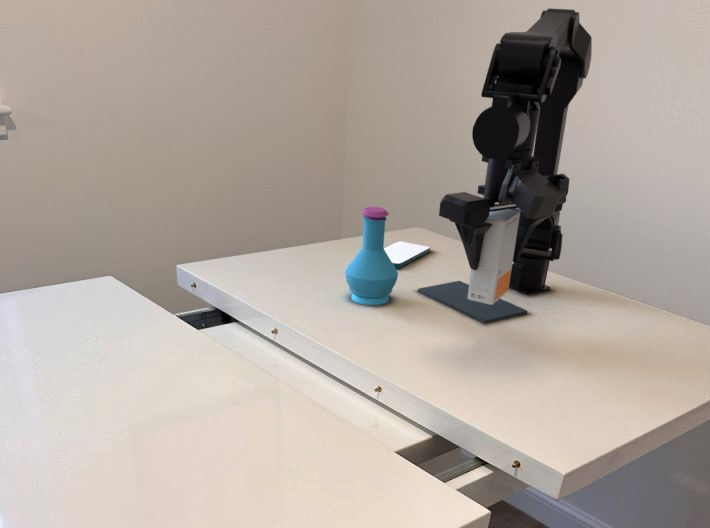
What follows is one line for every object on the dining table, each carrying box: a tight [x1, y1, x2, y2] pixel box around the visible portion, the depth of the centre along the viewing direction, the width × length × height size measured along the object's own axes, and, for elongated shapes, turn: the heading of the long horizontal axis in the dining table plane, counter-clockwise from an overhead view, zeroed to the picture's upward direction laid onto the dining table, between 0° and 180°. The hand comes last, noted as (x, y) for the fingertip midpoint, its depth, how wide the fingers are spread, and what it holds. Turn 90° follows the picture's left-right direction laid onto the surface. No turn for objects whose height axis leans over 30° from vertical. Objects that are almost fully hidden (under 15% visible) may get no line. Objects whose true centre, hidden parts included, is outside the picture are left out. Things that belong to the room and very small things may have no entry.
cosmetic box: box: [468, 209, 520, 305], centre depth 104 cm, size 6×4×12 cm
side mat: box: [417, 280, 528, 325], centre depth 128 cm, size 10×18×1 cm, turn 34°
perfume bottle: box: [344, 206, 399, 306], centre depth 123 cm, size 9×9×15 cm
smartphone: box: [383, 240, 431, 268], centre depth 148 cm, size 8×1×16 cm
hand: (493, 265), depth 105 cm, fingers closed on cosmetic box, 7 cm apart
